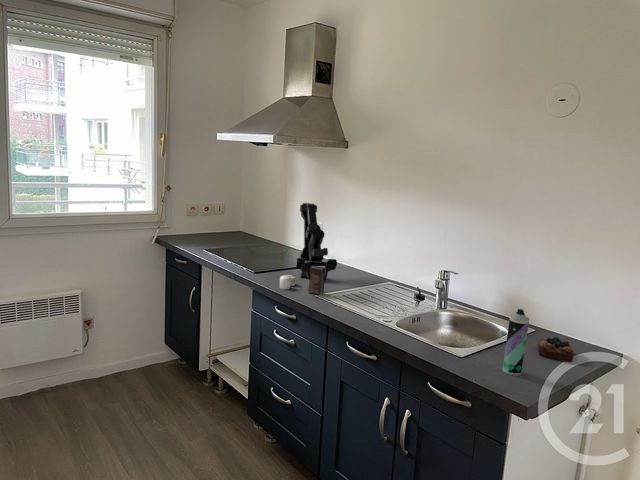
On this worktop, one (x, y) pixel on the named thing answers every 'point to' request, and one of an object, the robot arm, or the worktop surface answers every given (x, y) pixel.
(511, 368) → the spray can
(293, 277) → the birch block
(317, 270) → the box
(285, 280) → the plastic cylinder
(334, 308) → the worktop surface
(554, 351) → the pastry
